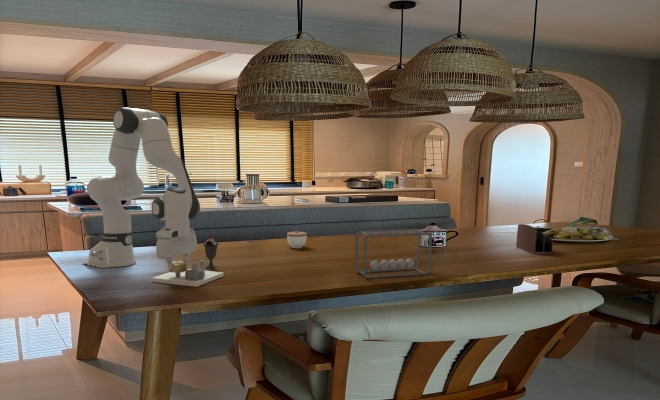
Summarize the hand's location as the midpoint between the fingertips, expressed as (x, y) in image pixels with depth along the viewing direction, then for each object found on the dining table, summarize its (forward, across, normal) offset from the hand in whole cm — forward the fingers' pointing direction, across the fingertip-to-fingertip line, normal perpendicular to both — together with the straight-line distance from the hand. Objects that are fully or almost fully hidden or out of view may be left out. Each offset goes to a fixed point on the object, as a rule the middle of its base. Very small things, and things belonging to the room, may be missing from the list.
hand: (178, 266), depth 186 cm
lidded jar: (+6, -85, +12) cm, 86 cm away
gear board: (+6, -4, +2) cm, 7 cm away
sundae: (+6, -25, -2) cm, 26 cm away
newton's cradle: (+6, -43, +74) cm, 86 cm away
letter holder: (+6, -125, +132) cm, 182 cm away
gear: (+2, 0, 0) cm, 2 cm away
